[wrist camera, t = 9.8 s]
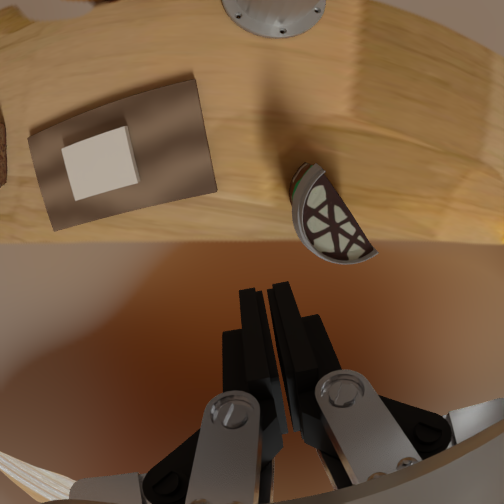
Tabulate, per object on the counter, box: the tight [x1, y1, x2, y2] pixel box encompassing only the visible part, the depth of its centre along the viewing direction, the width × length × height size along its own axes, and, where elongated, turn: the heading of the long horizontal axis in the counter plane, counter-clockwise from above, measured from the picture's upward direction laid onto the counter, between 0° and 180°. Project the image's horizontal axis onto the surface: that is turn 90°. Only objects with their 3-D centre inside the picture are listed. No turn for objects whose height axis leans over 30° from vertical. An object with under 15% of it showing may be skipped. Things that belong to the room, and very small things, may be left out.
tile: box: [61, 126, 140, 201], centre depth 33 cm, size 7×2×9 cm
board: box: [28, 79, 217, 232], centre depth 34 cm, size 14×24×1 cm, turn 99°
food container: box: [289, 162, 378, 264], centre depth 35 cm, size 12×6×10 cm, turn 39°
